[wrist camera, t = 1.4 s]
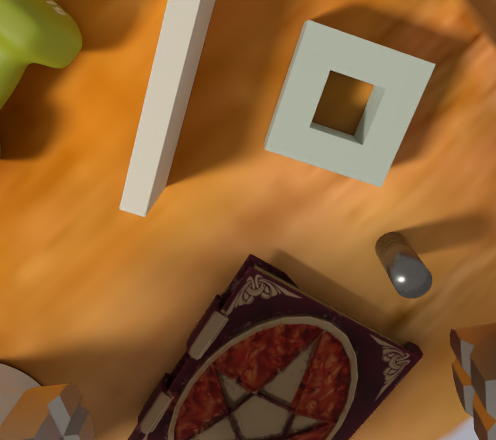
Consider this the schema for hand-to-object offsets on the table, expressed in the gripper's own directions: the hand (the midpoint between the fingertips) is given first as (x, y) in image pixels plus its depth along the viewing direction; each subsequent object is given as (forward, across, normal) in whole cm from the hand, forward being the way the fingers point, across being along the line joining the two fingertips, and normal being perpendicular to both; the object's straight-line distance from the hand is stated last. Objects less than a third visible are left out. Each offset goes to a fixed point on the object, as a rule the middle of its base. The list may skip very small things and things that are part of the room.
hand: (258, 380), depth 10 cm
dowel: (+33, -8, +14) cm, 37 cm away
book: (+33, +7, +29) cm, 45 cm away
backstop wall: (+33, +6, -7) cm, 34 cm away
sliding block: (+33, -6, 0) cm, 33 cm away
